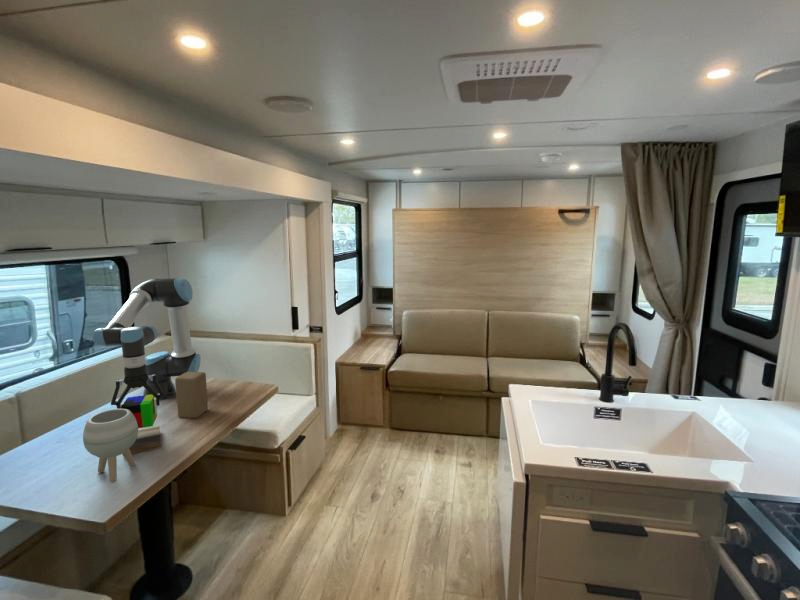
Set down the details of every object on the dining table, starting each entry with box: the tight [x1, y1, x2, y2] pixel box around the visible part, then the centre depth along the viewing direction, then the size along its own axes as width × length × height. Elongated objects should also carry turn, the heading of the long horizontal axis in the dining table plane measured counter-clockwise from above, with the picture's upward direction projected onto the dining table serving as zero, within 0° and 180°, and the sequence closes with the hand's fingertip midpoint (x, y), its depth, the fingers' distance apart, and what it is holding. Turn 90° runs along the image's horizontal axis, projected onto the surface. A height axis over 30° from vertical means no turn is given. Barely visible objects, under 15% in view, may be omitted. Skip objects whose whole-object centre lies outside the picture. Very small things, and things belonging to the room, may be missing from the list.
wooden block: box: [174, 371, 209, 419], centre depth 192 cm, size 10×10×20 cm
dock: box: [129, 425, 162, 455], centre depth 166 cm, size 15×13×6 cm
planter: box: [82, 408, 139, 483], centre depth 144 cm, size 16×16×22 cm
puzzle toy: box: [121, 394, 158, 429], centre depth 165 cm, size 10×10×10 cm
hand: (139, 416), depth 165 cm, fingers closed on puzzle toy, 11 cm apart
